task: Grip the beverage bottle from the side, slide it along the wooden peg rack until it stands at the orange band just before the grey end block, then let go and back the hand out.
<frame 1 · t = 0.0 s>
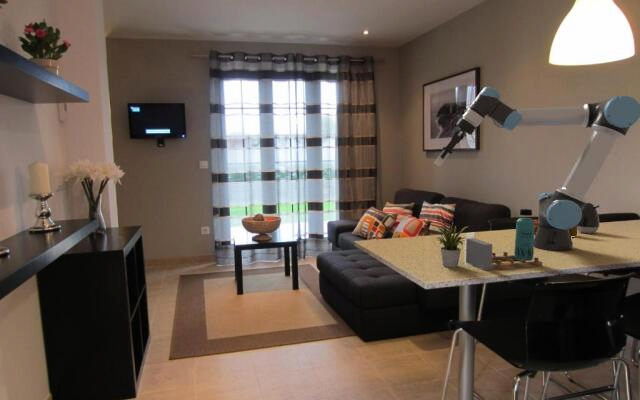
hand: (437, 164, 188), 36 cm above the table, tool tilted 35°, fingers open, 13 cm apart
wooden peg rack: (506, 263, 163), on the table
condiment: (568, 236, 215), on the table
hamburger: (533, 233, 225), on the table
end block: (478, 265, 161), on the table
band marker: (497, 264, 162), resting on wooden peg rack
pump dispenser: (587, 233, 223), on the table
beverage bottle: (523, 263, 164), on the table
house plant: (446, 265, 162), on the table
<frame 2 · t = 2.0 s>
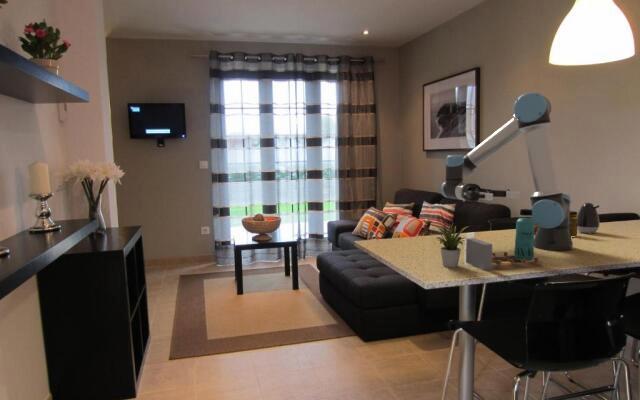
hand: (506, 196, 171), 24 cm above the table, tool horizontal, fingers open, 13 cm apart
nothing on the table moved.
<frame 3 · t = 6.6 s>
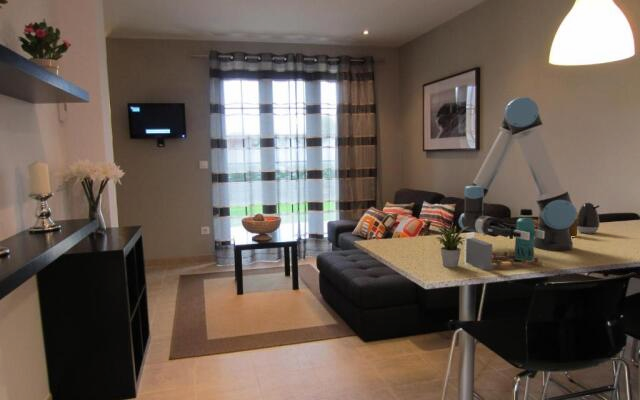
hand: (536, 235, 159), 11 cm above the table, tool horizontal, fingers closed on beverage bottle, 6 cm apart
beverage bottle: (523, 263, 164), on the table, touching gripper
everything else where it was.
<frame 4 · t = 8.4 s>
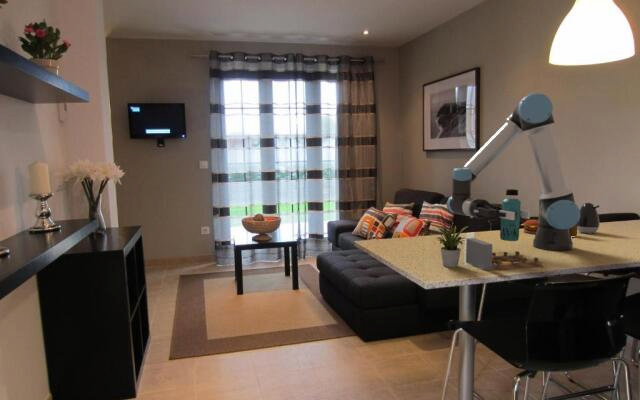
hand: (521, 215, 157), 18 cm above the table, tool horizontal, fingers closed on beverage bottle, 6 cm apart
beverage bottle: (509, 244, 163), point 7 cm above the table, touching gripper
everything else where it was.
when the fingers open (12 cm above the table, at t = 10.7 s): beverage bottle drops 1 cm, on the table.
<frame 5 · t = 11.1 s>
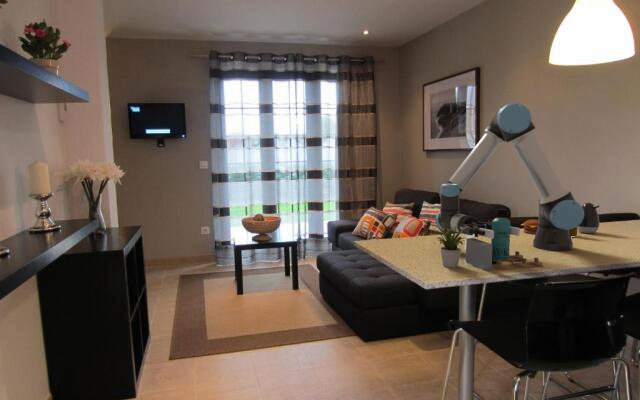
hand: (506, 233, 157), 12 cm above the table, tool horizontal, fingers open, 11 cm apart
beverage bottle: (499, 263, 164), on the table, touching gripper
everything else where it was.
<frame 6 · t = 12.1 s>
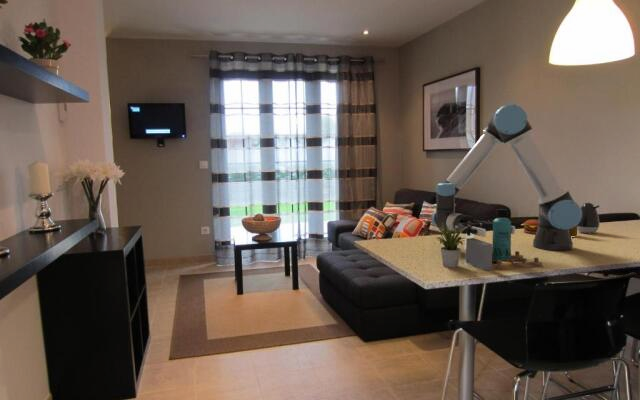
hand: (499, 231, 160), 12 cm above the table, tool horizontal, fingers open, 13 cm apart
beverage bottle: (501, 263, 164), on the table
everything else where it was.
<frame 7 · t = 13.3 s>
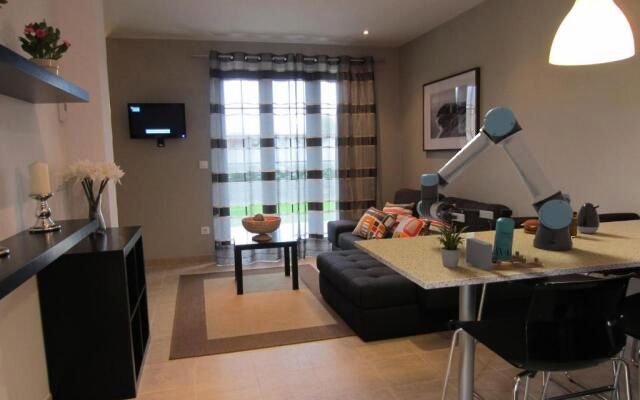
hand: (478, 216, 170), 16 cm above the table, tool horizontal, fingers open, 13 cm apart
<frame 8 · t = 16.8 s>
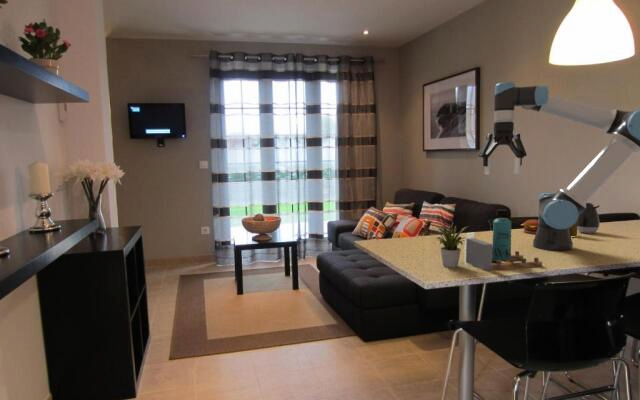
hand: (502, 174, 182), 32 cm above the table, tool pointing down, fingers open, 13 cm apart
at the end: beverage bottle inside the target area (3.0 cm from its centre), on the table; beverage bottle tilted 1°; the gripper is holding nothing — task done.
